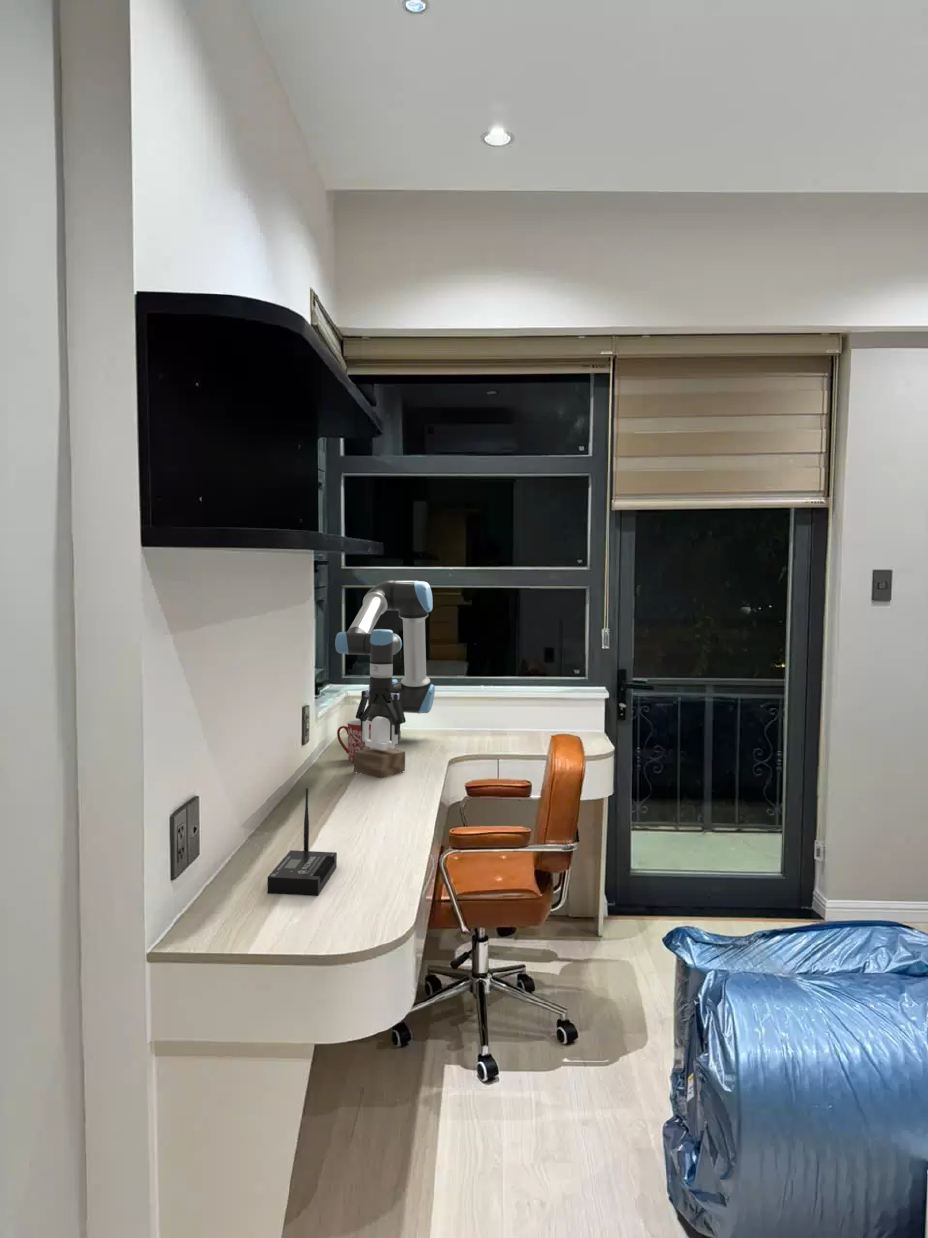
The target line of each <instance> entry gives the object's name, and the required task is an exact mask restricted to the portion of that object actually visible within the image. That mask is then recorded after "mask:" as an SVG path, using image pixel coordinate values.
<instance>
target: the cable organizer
mask: <svg viewBox="0 0 928 1238" xmlns="http://www.w3.org/2000/svg"><path fill="white" fill-rule="evenodd" d="M365 746H368V747H370V748H376V749H379V750H387V748H390V749H395V748H396V747H395V746H396V744H395V745H392V740H390V721H389V720H388V719H387V718H384V717H380V716H377V717H375V718H374V719H373V720H372V723H371V740H370V739H367V740H365Z"/></svg>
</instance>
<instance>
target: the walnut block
mask: <svg viewBox="0 0 928 1238" xmlns="http://www.w3.org/2000/svg"><path fill="white" fill-rule="evenodd" d="M403 771H406V751H405V750H399V749H395V748H394V749H390V748H387V750H379V749H376V748H372V747H370V748H369V749H365V750H360V751H356V752H354V762H353V773H355V772H357V773H356V774H359V773H361V774H360V775H365V776H370V777H372V778H378V779H383V778H387V777H390V775H391V776H393V775H397V773H398V774H401V773H404V772H403ZM400 772H401V773H400Z"/></svg>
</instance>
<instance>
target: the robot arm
mask: <svg viewBox="0 0 928 1238" xmlns="http://www.w3.org/2000/svg"><path fill="white" fill-rule="evenodd" d="M433 598H434V597H433V592H432V588H431V586H430V584H429V583H428V582H426V581H421V580H386V581H382V582H379V583H378V584H376V585H375V586H373V587H372V588H370V589H369V590H368V591H366V594H365V595H364V597H363V600H362V606H361V607H360V609H359V611H358V613H357V614H356V616H355V618H354V620H353V621H352V623H351V625H350V626H349V628H348V630H347V631H340V632H338V633H336V636H335V641H334V642H335V643H334V644H335V645H334V646H335V651H336V652H337V653H339V654H342V655H344V654H345V655H363V656H366V655H367V656H369V675H370V677H369V685H368V690H367V689H365V690H361V692H360V693H361V696H360V700H359V704H358V708H357V711H356V713H355V718H356V719H355V720H357V719H358V720H360V721H361V730H363V731H362V741H365V740H367V739H369V721H371V722H372V720H373V719H374V718H375V717H377V716H380V717H384V718H387V719H388V720H389V721H390V741H392V745H395V746H396V745H397V744H398V743H399V741H398V740H399V739H401V737H402V735H401V732H402V731H401V725H402V724H406V722H407V721H406V717H405V714H406V713H407V714H419V715H420V714H428V713H430V712H431V710H432V708H433V703H434V699H435V691H436V688H435V685H434V684H431V679H430V678H429V677H428V676H427V657H426V656H427V655H426V654H427V653H426V652H427V651H426V650H427V649H426V619H427V618H428V617H429V616H430V615H429V613H430V612H432V610H433V607H434V605H433V602H434V601H433ZM386 611H393V612H394V611H395V612H396V611H398V617H399V618H400V619H402V631H403V634H402V637H403V642H402V639H401V637H400V635H398V634H397V633H394V631H393V630H392V629H385V628H384V629H383V628H378V629H377V628H376V629H374V627H375V626H376V624H377V622H378V621H379V619H380V617H381V615H383V614H384V613H385V612H386ZM402 646H403V663H404V664H403V665H404V677H403V678H401V680H400V683H399V681H398V679H395V678H393V677H392V676H393V675H394V674H393V673H394V670H393V668H394V667H393V665H394V664H393V663H394V661H393V660H394V655H397V653H399V652H400V650H401V649H402ZM398 738H399V739H398Z"/></svg>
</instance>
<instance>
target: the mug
mask: <svg viewBox="0 0 928 1238" xmlns="http://www.w3.org/2000/svg"><path fill="white" fill-rule="evenodd" d="M371 723H372V722H371V721H369V739H370V740H371ZM346 724H347V725H341V726H339V727H338V728H337V732H336V735H337V740H338V742H339V744H340V746H341V748H342V749H343V750H344V751H345V753H346V754H347V755H348V758H347V759H348V761H349V762H353V763H354V752H356V751H360V750H365V749H369V748H371V747H368V746H365V741H362V731H363V730H361V721H360V720H359V719H358V720H357V719H355V720H349V721H347V722H346ZM342 729H344V730H346V734H347V745H348V747H347V746H346V745H345V743H344V742H343V740H342V738H341V730H342Z"/></svg>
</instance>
